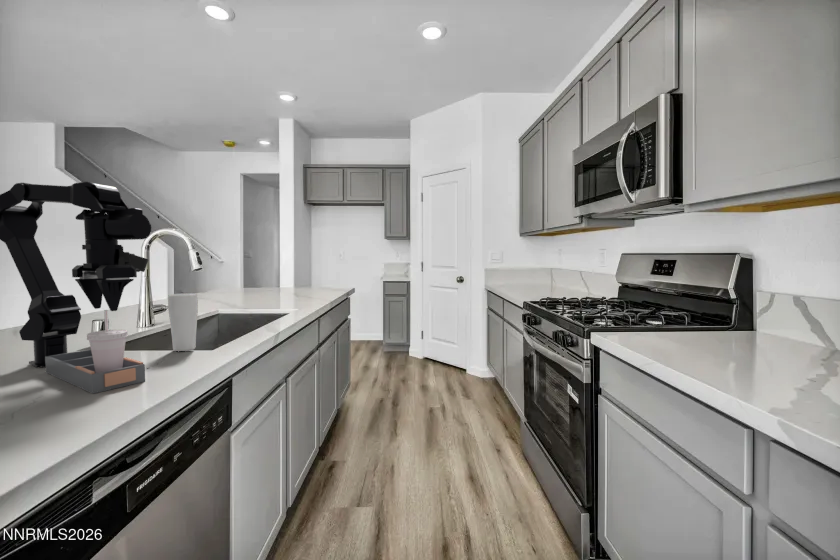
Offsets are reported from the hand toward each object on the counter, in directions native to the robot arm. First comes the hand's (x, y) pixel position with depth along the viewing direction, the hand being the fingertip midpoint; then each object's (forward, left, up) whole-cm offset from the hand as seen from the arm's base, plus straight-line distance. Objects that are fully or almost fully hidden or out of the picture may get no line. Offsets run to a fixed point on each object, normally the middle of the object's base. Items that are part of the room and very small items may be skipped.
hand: (105, 309), depth 90 cm
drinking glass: (-2, +18, -13) cm, 23 cm away
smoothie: (+15, -5, -13) cm, 20 cm away
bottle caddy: (+7, -5, -13) cm, 15 cm away
